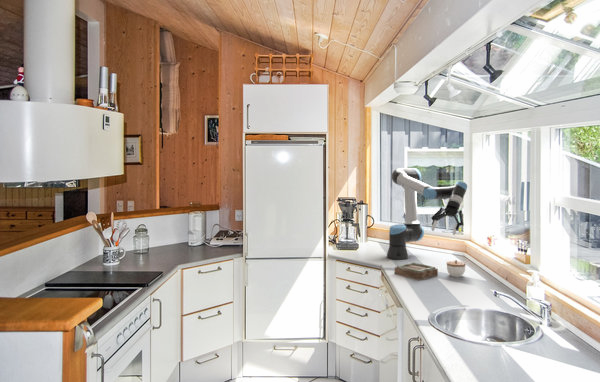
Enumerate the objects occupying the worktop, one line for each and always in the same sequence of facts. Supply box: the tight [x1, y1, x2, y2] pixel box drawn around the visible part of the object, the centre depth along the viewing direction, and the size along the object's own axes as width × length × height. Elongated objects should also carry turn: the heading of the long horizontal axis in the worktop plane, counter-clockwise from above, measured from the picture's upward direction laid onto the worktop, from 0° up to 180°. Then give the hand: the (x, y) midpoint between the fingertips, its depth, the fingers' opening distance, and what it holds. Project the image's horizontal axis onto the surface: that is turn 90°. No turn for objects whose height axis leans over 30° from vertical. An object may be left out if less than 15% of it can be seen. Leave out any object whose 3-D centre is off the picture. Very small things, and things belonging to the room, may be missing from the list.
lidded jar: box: [446, 259, 466, 278], centre depth 258 cm, size 11×11×9 cm
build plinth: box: [394, 262, 439, 281], centre depth 261 cm, size 18×18×5 cm
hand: (442, 231), depth 263 cm, fingers open, 13 cm apart
